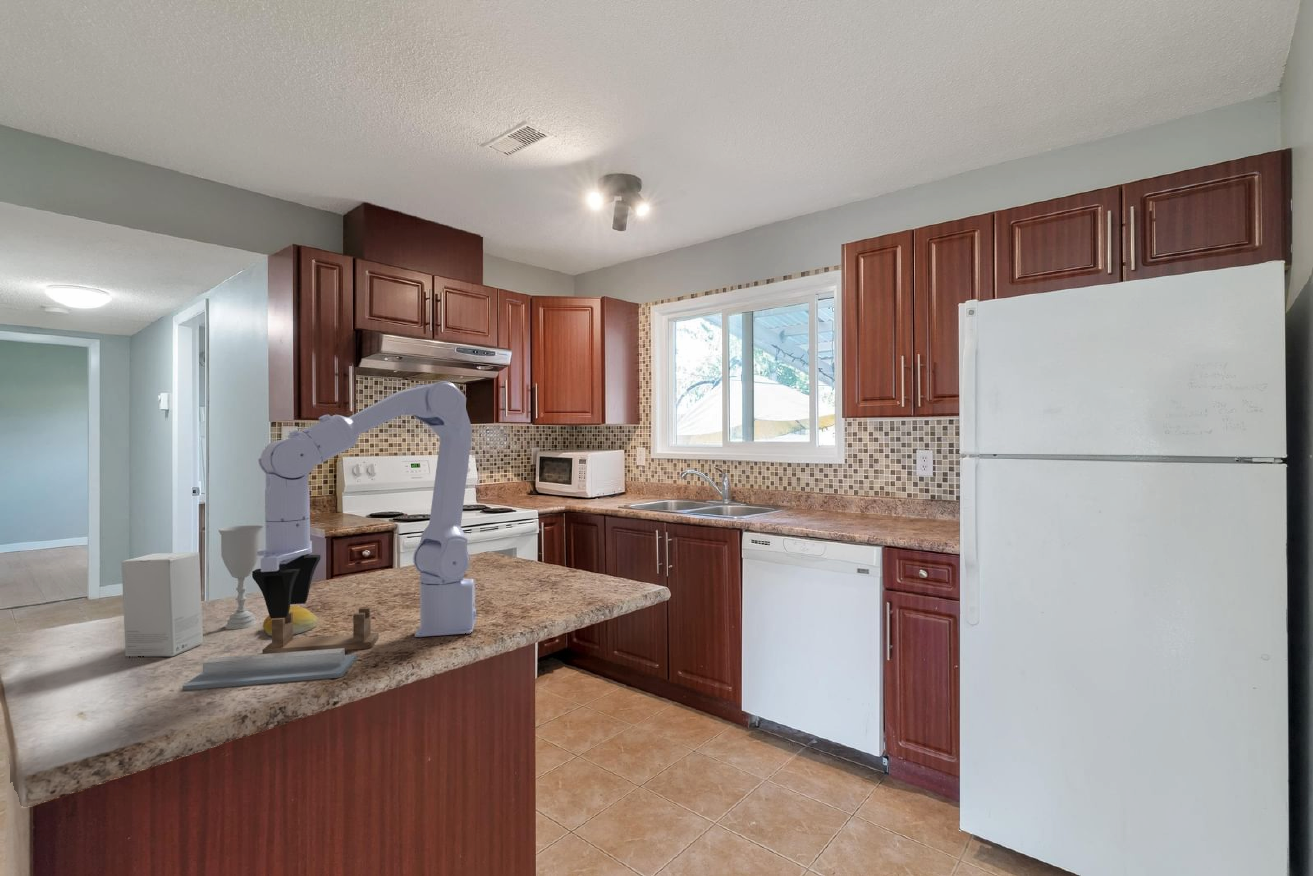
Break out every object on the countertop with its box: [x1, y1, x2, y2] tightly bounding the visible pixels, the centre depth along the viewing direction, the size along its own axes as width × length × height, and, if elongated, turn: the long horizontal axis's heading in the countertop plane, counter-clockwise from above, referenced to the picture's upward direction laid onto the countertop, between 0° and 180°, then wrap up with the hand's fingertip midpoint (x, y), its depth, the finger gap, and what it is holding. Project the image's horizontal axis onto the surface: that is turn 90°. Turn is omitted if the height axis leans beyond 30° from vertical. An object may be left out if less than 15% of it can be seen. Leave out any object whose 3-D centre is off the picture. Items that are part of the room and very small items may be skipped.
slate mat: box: [182, 653, 358, 691], centre depth 89 cm, size 20×8×1 cm, turn 102°
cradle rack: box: [262, 607, 380, 654], centre depth 100 cm, size 16×5×6 cm, turn 102°
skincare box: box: [120, 551, 204, 658], centre depth 99 cm, size 8×7×16 cm
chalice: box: [217, 525, 264, 630], centre depth 113 cm, size 7×7×18 cm
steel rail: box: [202, 648, 346, 677], centre depth 89 cm, size 18×2×2 cm, turn 102°
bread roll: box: [262, 605, 318, 637], centre depth 110 cm, size 8×9×4 cm
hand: (289, 610), depth 91 cm, fingers open, 7 cm apart
